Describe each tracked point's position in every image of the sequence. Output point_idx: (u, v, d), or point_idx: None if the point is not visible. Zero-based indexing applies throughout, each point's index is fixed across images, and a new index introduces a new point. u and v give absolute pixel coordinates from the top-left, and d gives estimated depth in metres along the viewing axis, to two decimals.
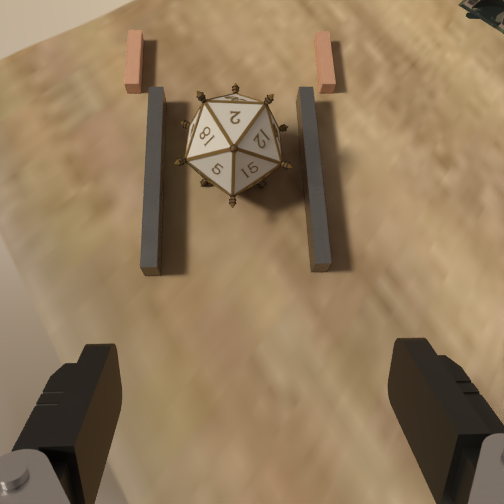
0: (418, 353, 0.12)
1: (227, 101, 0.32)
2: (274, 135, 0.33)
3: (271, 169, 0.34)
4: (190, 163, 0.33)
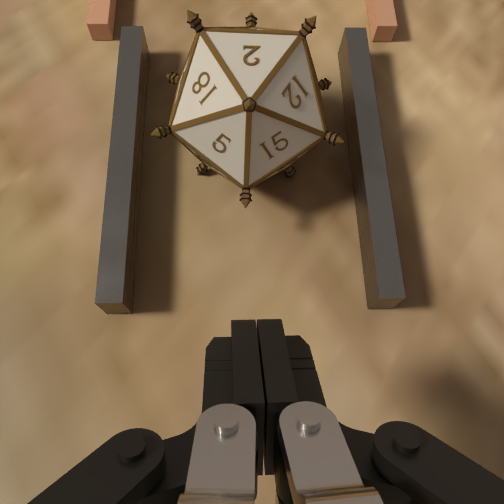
0: (267, 332, 0.13)
1: (238, 30, 0.19)
2: (315, 88, 0.20)
3: (309, 145, 0.21)
4: (177, 135, 0.21)
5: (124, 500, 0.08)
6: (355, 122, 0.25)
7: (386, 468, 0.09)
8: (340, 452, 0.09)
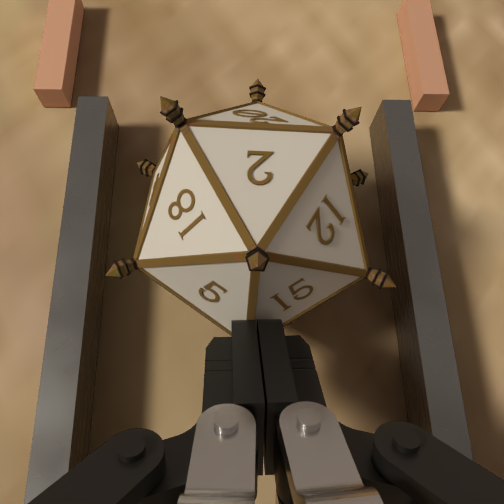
0: (267, 332, 0.13)
1: (240, 124, 0.13)
2: (355, 209, 0.13)
3: (343, 287, 0.14)
4: (147, 272, 0.14)
5: (124, 500, 0.08)
6: (400, 238, 0.18)
7: (386, 468, 0.09)
8: (340, 452, 0.09)
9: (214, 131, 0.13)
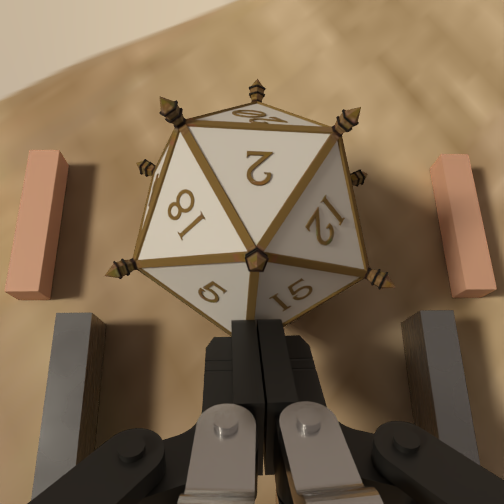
0: (267, 332, 0.13)
1: (239, 125, 0.13)
2: (354, 209, 0.13)
3: (342, 288, 0.14)
4: (146, 273, 0.14)
5: (124, 500, 0.08)
6: None
7: (386, 468, 0.09)
8: (340, 452, 0.09)
9: (213, 131, 0.13)
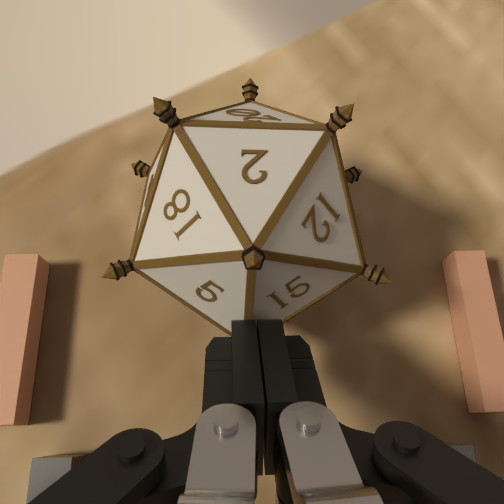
0: (267, 332, 0.13)
1: (233, 123, 0.13)
2: (349, 205, 0.13)
3: (339, 284, 0.14)
4: (143, 273, 0.14)
5: (124, 501, 0.08)
6: None
7: (386, 468, 0.09)
8: (340, 452, 0.09)
9: (208, 131, 0.13)
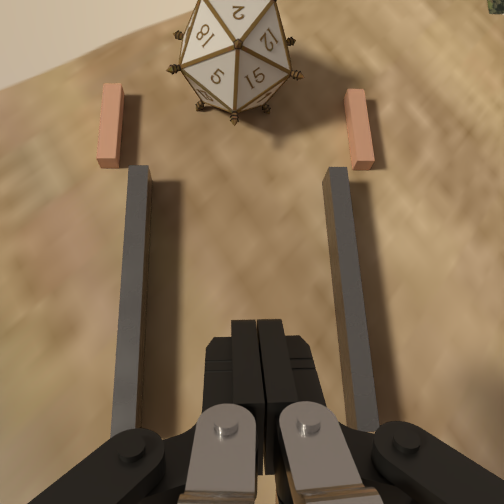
0: (267, 332, 0.13)
1: None
2: (283, 38, 0.28)
3: (279, 80, 0.29)
4: (185, 71, 0.29)
5: (124, 500, 0.08)
6: (337, 259, 0.28)
7: (386, 468, 0.09)
8: (340, 452, 0.09)
9: None
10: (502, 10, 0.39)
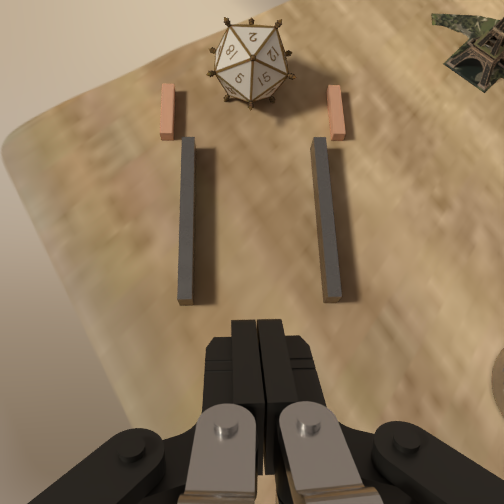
0: (267, 332, 0.13)
1: (246, 25, 0.43)
2: (282, 52, 0.44)
3: (280, 79, 0.44)
4: (218, 75, 0.44)
5: (124, 500, 0.08)
6: (318, 196, 0.43)
7: (386, 468, 0.09)
8: (340, 452, 0.09)
9: (239, 27, 0.43)
10: None
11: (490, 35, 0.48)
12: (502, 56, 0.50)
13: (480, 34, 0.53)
